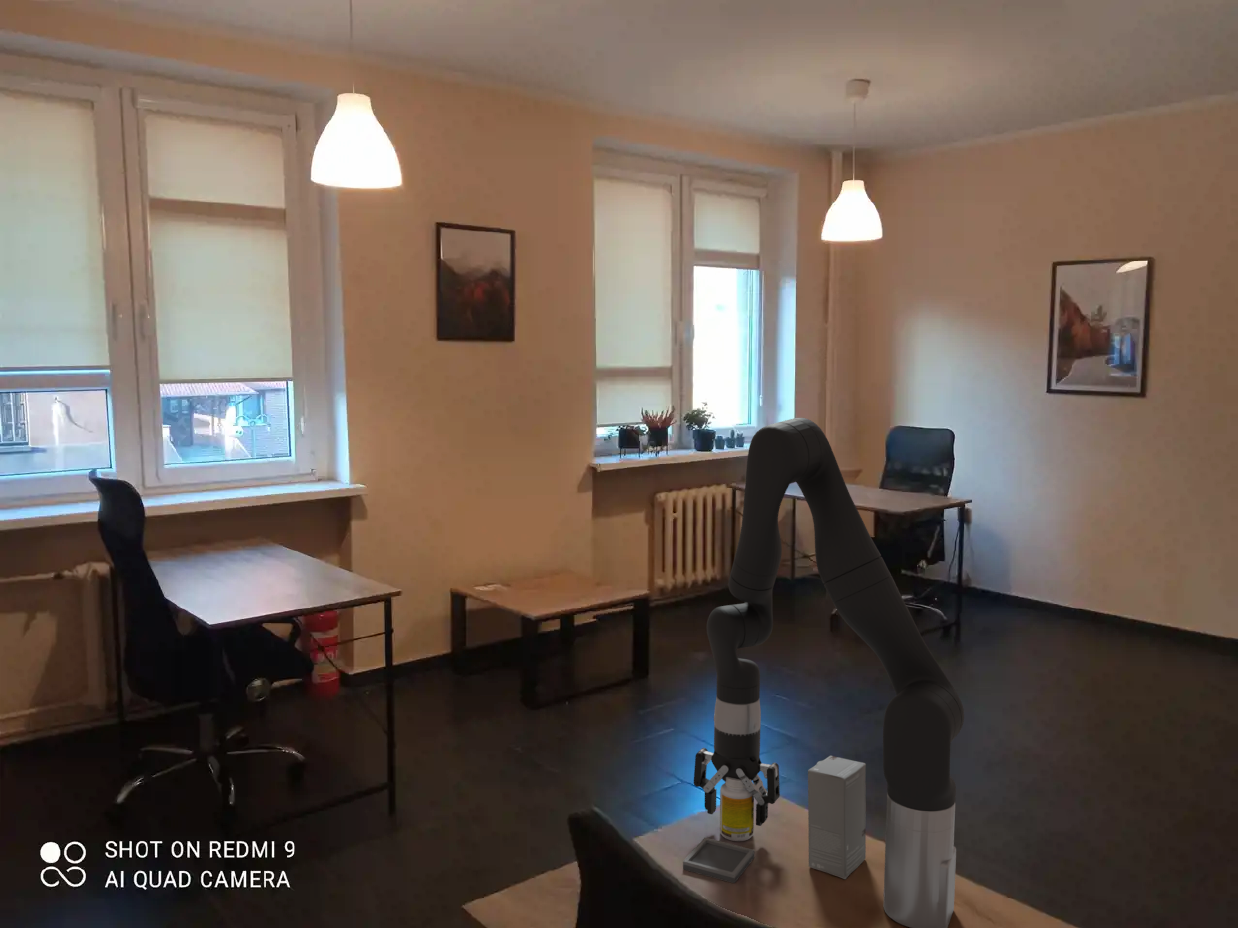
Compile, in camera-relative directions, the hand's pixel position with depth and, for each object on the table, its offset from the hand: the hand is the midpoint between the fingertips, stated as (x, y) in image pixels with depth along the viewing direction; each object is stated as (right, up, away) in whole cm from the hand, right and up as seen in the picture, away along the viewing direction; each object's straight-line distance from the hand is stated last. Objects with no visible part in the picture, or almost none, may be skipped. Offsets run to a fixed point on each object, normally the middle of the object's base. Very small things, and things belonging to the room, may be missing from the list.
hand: (735, 817), depth 161 cm
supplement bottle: (0, -3, 0) cm, 3 cm away
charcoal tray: (-4, -4, -9) cm, 10 cm away
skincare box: (+15, -4, -9) cm, 17 cm away
